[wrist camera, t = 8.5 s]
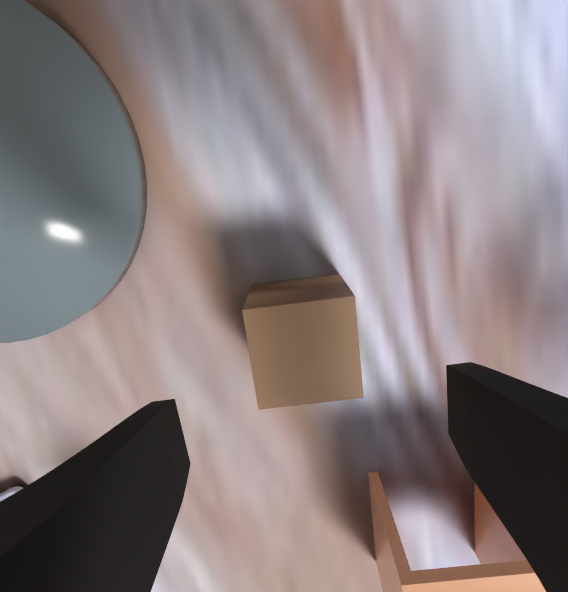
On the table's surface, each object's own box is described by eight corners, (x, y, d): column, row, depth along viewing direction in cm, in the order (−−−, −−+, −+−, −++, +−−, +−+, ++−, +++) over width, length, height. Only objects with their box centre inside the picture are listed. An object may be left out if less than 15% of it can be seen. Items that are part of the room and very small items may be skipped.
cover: (376, 561, 21) (409, 696, 15) (368, 472, 20) (401, 585, 14) (483, 551, 21) (557, 683, 15) (484, 460, 19) (566, 569, 14)
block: (264, 364, 18) (258, 409, 14) (251, 284, 17) (241, 310, 13) (346, 354, 18) (363, 397, 14) (338, 273, 17) (354, 296, 13)
